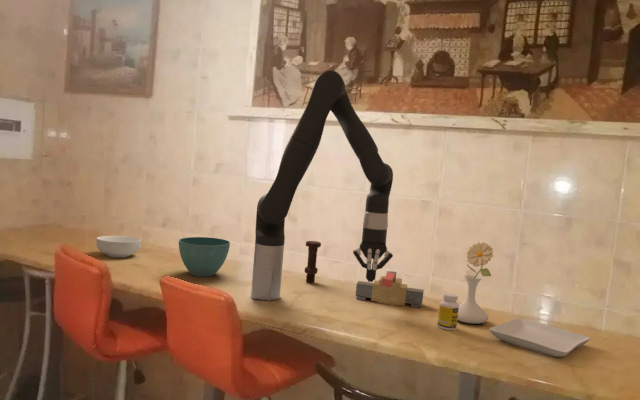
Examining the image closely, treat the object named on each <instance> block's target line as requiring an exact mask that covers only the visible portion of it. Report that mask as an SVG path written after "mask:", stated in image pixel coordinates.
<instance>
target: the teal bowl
mask: <svg viewBox="0 0 640 400" xmlns="http://www.w3.org/2000/svg"><path fill="white" fill-rule="evenodd" d="M230 245H231V242H230V241H229V240H227V239H223V238H218V237H207V236H206V237H205V236H191V237H189V236H188V237H181V238H179V239H178V249H179V254H180V257H181V261H182V263H183V265H184V266H185V268H186V270H187V271H188V273H189V274H190V275H191V276H193V277H194V276H195V277H203V278H205V277H206V278H207V277H212V276H214V275H215V274H217V272H218V271H219V270H220V269H221V268H222V266H223V265H224V263H225V261H226V259H227V257H228V254H229V252H230V251H229V250H230Z"/></svg>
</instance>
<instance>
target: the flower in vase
mask: <svg viewBox="0 0 640 400" xmlns="http://www.w3.org/2000/svg"><path fill="white" fill-rule="evenodd" d="M493 250H494V248H493V247H492V246H491V245H489V244H488V243H486V242H482V243H480V242H477V243H476V244H475V243H473V244H472V245H471V246H470V247H469V249H468V250H467V252H466V258H467V259H466V261H467V263H466V266H467V267H468V268H469V269H470V270H471V271H472V272H474V273H475V275H473V274H472V275H471V274H466V275H464V277H465V279H466V281H467V295H466V299H465V300H463V302H462V303H459V304H458V305H459V310H458V318H457V321H460V322H463V323H466V324H477V325H479V324H483V323H487V321H488V320H489V317H488V314H487V313H486V311H485V310H484V309H483V308H482V307H480V305H479V304H478V303H477V301H476V292H477V291H476V290H477V288H478V287H477V286H478V284H479V282H480V281H482V279H483V278H482V277H492V274H491V271H490V270H489V268H487V267H485V268H483V266H486V265H487V264H488V263H489V262H490V261H491V259H492V258H493V257H494V254H493V253H494V251H493ZM468 263H469V264H470V265H472V266H473V267H475V268H476V267H480V269H479V270H478V272H476V270H475V269H473V268H472V267H471V266H470V265H469V264H468ZM479 273H480V274H481V276H482V277H481V276H478V274H479Z"/></svg>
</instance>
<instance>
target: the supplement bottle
mask: <svg viewBox="0 0 640 400" xmlns="http://www.w3.org/2000/svg"><path fill="white" fill-rule="evenodd" d="M442 299H443V300H441V301H440V303H439V310H438V318H437V327H438V328H439V329H442V330H447V331H455V330H456V329H457V325H458V320H457V318H458V310H459V305H460V304H459V303H458V295H457V294H455V293H449V292H445V293H443V296H442Z"/></svg>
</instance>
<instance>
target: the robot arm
mask: <svg viewBox="0 0 640 400" xmlns="http://www.w3.org/2000/svg"><path fill="white" fill-rule="evenodd" d="M330 112H332V114H333V115H334V117H335V119H336V120H337V121H338V123H339V125H340V127H341V130H342V131H343V134H344V136H345V137H346V139H347V141H348V144H349V145H350V147H351V149H352V151H353V152H354V154H355V156H356V157H357V159H358V161H359V163H360V166H361V169H362V171H363V173H364V176H365V178H366V179H367V181H368V182H369V184H370V188H369V192H368V194H367V196H366V201H365V210H364V211H365V212H364V216H363V223H362V234H361V242H360V244H359V247H358V248H356V249H353V250H352V253H353V256H354V257H355V258H356V260H357V261H358V263H359V264H360V266H361V267H362V268H364V269H366V273H365V278H366V280H367V282H370V283H374V281H375V280H376V276H377V270H380V269H381V270H382V269H383V268H384V266H385V265H386V264H388V262H390V260H391V259H392V258H393V257H394V255H393V253H392V252H390V251H389V250H388V247H387V237H388V236H387V233H388V228H389V227H388V226H389V224H388V223H389V219H388V217H389V215H388V213H389V203H390V202H389V200H390V195H391V191H392V187H393V180H394V171H393V168H392V167H391V166H390V165H389V164H388V163H385V162H384V161H383V160H382V157H381V155H380V154H379V149H378V145H377V143H376V142H375V140H374V139H373V136H372V135H371V133H370V132H369V130H368V129H367V127H366V125H365V124H364V123H363V121H362V120H361V119H360V117H359V116H358V114H357V112H356V111H355V108H354V106H353V105H352V102H351V100H350V98H349V94H348V92H347V87H346V84H345V81H344V78H343V77H342V76H341V74H340V73H339V72H338V71H336V70H333V69H332V70H325V71H324V72H322V73H320V74H319V75H318V76H317V78H316V80H315V82H314V84H313V87H312V91H311V94H310V96H309V98H308V101H307V104H306V107H305V108H304V111H303V112H302V114H301V116H300V118H299V120H298V121H297V124H296V126H295V128H294V129H293V132H292V134H291V135H290V137H289V140H288V142H287V144H286V146H285V148H284V151H283V154H282V156H281V159H280V163H279V168H278V171H277V174H276V176H275V179H274V181H273V182H272V184H271V186H270V188H269V190H268V192H267V193H265V194H264V195H262V196H261V197H260V198H259V200H258V202H257V204H256V205H257V206H256V218H255V240H254V254H253V268H252V277H251V278H252V279H251V291H250V293H251V294H250V296H251V299H255V300H260V301H261V300H262V301H269V302H270V301H274V300H275V301H276V300H279V299H280V298H281V287H282V274H283V263H284V262H283V261H284V252H285V251H284V250H285V238H286V236H285V223H286V222H285V221H286V220H285V219H286V217H287V216H288V214H289V210H290V209H291V205H292V203H293V199H294V196H295V193H296V191H297V189H298V187H299V184H300V183H301V181H302V180H303V177H304V176H305V174H306V172H307V171H308V168H309V167H310V165H311V163H312V162H313V159H314V157H315V156H316V153H317V151H318V149H319V146H320V143H321V140H322V136H323V132H324V128H325V125H326V121H327V118H328V116H329V114H330ZM361 254H362V255H363V256H364V258H366V263H365V261H364V260H363V258H362V257H361ZM382 256H384V257H383V258H382ZM381 258H382V259H381ZM380 259H381V260H380ZM379 260H380V262H379Z"/></svg>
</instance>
